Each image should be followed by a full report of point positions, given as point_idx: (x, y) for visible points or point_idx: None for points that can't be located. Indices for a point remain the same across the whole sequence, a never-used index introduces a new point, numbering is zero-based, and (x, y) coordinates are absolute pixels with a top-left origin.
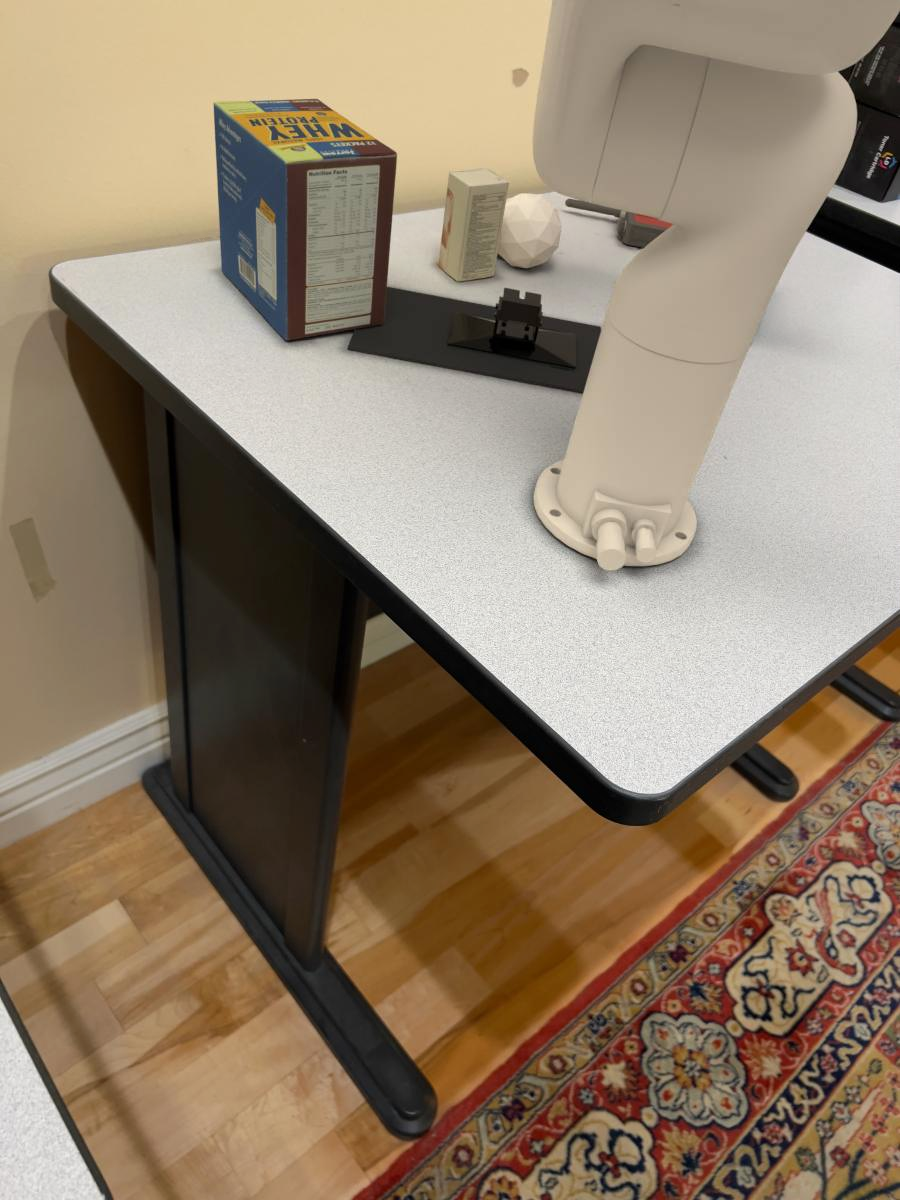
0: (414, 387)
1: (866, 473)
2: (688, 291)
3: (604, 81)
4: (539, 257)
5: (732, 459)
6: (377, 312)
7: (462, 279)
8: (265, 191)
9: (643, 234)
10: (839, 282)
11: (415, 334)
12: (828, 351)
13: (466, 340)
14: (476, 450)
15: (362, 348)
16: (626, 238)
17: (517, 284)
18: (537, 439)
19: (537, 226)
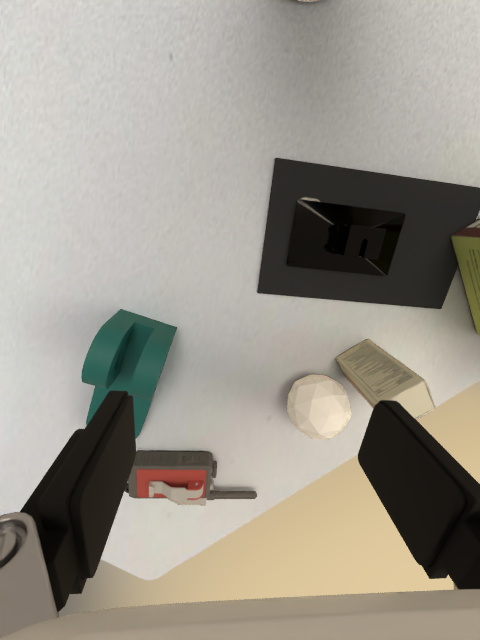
0: (444, 133)
1: (13, 53)
2: None
3: None
4: (304, 378)
5: (163, 54)
6: (468, 231)
7: (364, 341)
8: None
9: (197, 460)
10: (9, 455)
11: (426, 228)
12: (33, 316)
13: (390, 219)
14: (416, 17)
15: (476, 189)
16: (210, 456)
17: (316, 351)
18: (354, 54)
19: (321, 392)
